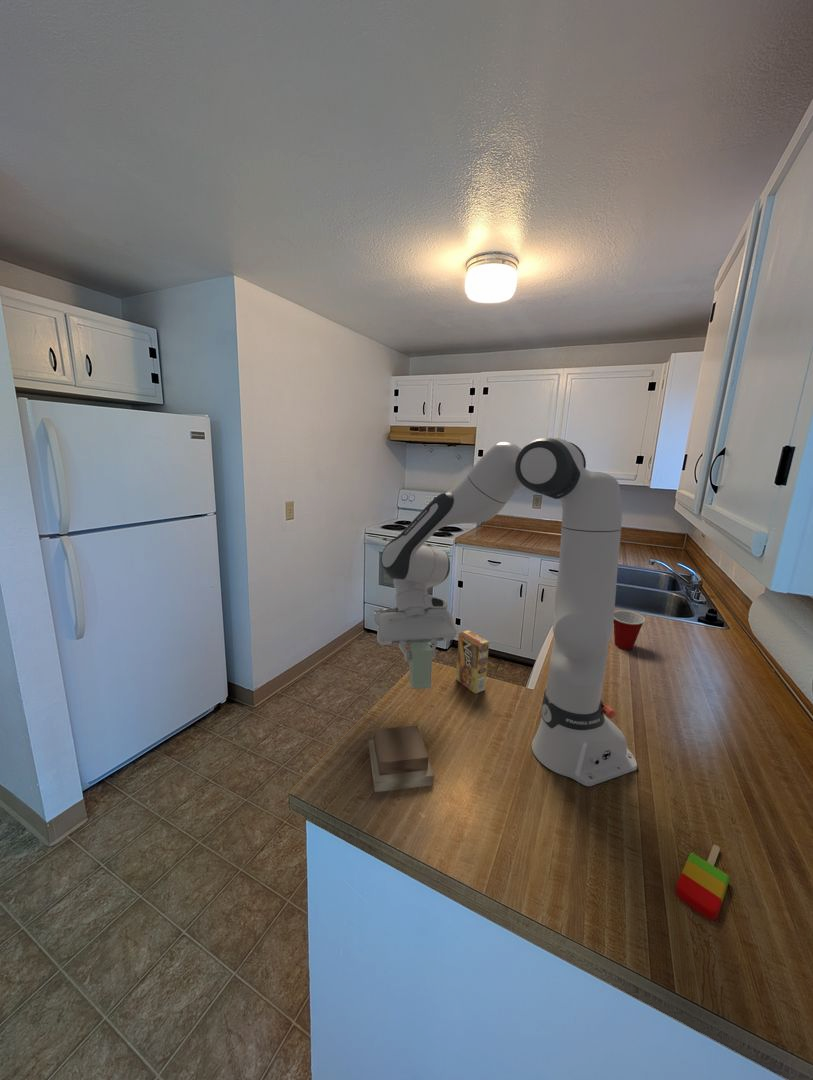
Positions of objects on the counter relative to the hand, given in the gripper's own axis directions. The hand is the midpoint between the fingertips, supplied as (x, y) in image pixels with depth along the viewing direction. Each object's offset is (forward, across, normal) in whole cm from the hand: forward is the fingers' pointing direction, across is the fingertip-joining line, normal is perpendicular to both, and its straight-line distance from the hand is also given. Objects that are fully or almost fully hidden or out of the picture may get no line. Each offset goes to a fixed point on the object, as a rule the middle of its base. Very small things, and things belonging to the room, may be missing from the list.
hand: (420, 659), depth 100 cm
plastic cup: (-9, +83, +34) cm, 90 cm away
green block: (+5, 0, +4) cm, 6 cm away
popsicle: (+46, +38, -19) cm, 63 cm away
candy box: (+3, +18, +21) cm, 28 cm away
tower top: (+20, -8, 0) cm, 22 cm away
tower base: (+23, -8, +2) cm, 24 cm away
